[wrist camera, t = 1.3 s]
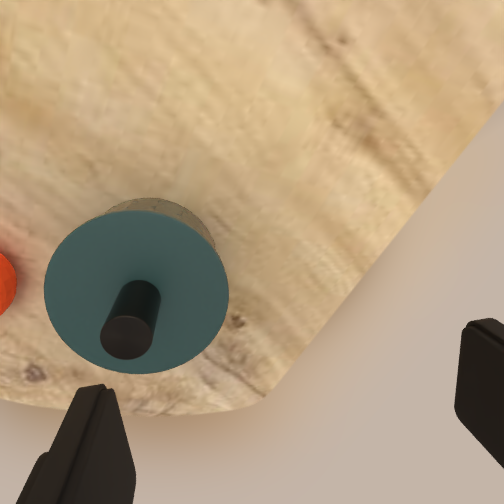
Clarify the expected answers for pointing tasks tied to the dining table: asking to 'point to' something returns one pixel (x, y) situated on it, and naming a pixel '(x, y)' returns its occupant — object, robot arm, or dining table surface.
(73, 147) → the dining table surface
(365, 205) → the dining table surface
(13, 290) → the clementine
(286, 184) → the dining table surface
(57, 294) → the pot lid
